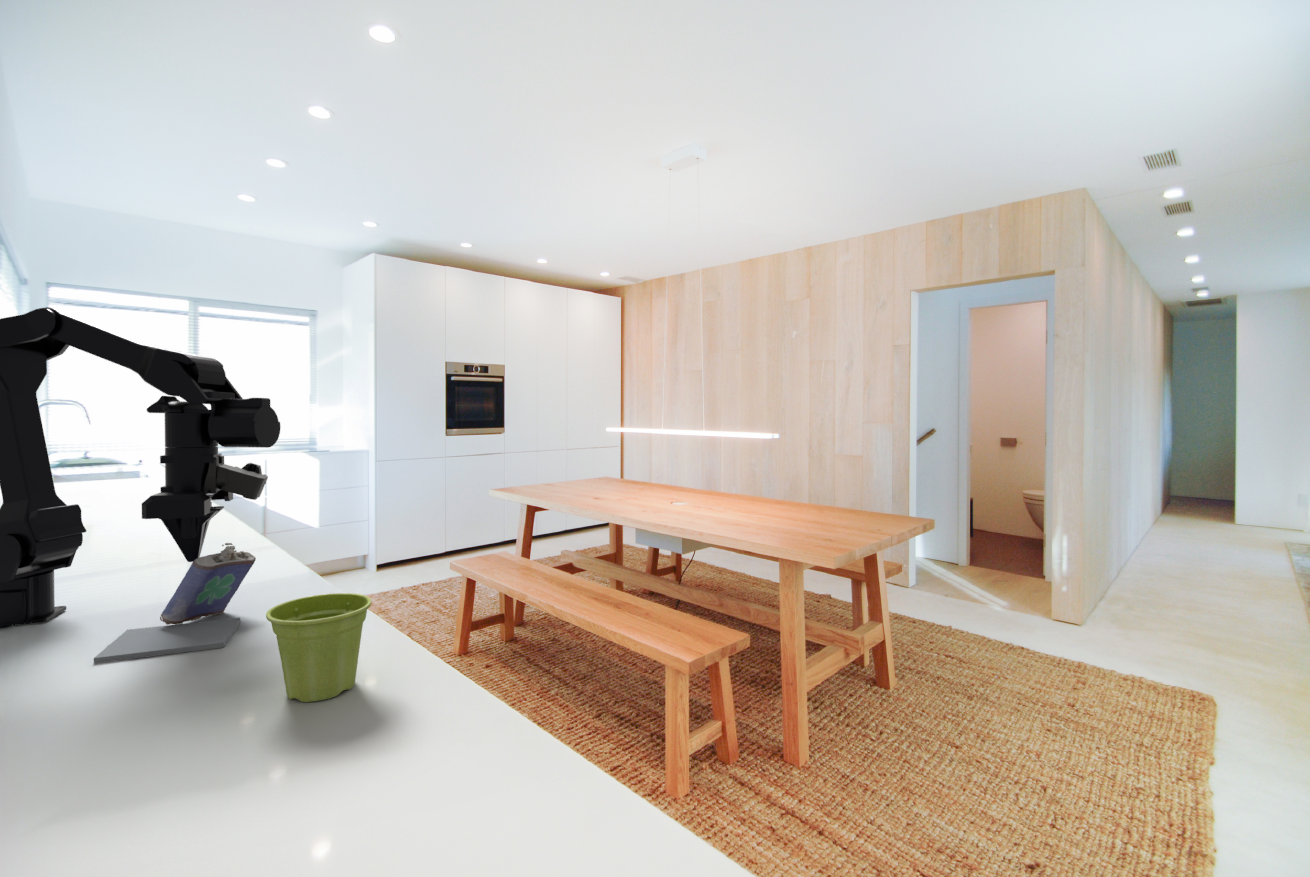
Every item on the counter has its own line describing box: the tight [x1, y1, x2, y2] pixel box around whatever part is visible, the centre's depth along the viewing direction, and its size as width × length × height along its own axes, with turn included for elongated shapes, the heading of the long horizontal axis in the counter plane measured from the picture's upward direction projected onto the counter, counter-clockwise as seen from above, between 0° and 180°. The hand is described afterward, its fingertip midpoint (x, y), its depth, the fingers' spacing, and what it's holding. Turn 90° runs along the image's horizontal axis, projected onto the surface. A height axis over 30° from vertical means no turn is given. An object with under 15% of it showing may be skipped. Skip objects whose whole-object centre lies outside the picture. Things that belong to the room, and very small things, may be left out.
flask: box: [159, 542, 257, 626], centre depth 81 cm, size 9×3×11 cm
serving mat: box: [93, 617, 241, 664], centre depth 74 cm, size 10×12×1 cm
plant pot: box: [265, 592, 372, 703], centre depth 61 cm, size 9×9×9 cm
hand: (193, 561), depth 81 cm, fingers closed
